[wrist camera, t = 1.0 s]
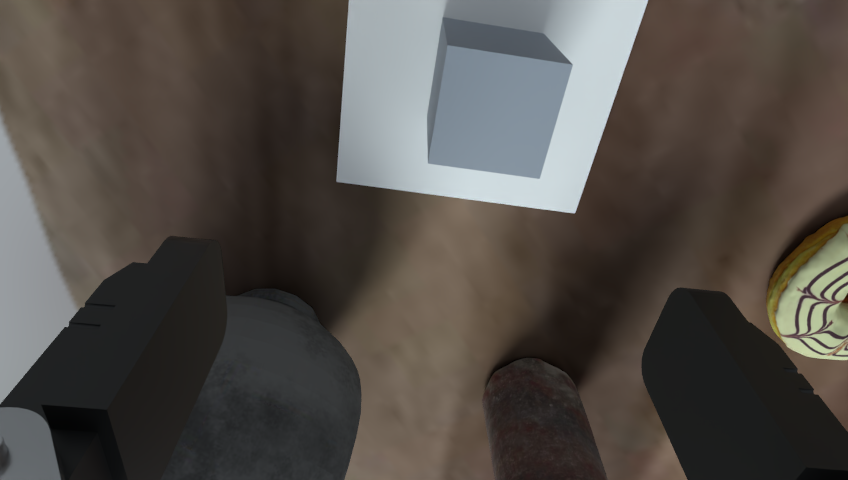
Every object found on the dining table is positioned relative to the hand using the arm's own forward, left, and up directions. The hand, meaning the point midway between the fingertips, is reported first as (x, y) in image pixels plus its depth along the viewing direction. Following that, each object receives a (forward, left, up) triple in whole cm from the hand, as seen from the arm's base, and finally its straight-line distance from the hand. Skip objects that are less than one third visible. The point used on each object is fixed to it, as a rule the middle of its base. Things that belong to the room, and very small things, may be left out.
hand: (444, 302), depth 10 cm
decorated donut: (+11, +30, -22) cm, 39 cm away
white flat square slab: (+1, +3, -22) cm, 22 cm away
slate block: (+1, +3, -20) cm, 20 cm away
